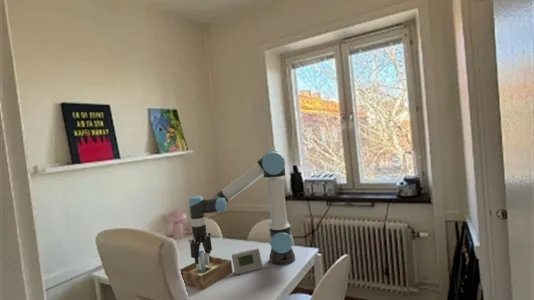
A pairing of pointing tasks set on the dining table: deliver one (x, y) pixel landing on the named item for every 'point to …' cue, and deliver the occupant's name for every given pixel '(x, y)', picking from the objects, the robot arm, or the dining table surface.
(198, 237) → the robot arm
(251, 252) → the digital clock
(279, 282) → the dining table surface
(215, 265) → the open box
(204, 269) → the dowel
